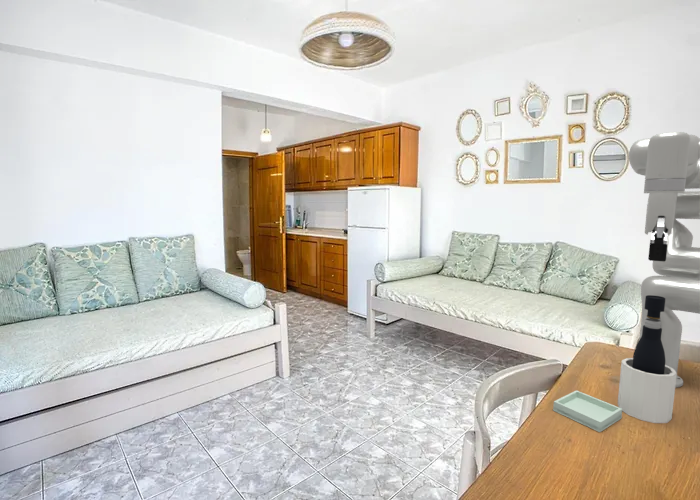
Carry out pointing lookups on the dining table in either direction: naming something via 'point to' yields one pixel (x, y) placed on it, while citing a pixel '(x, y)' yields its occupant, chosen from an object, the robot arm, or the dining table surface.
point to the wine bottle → (651, 339)
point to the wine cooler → (646, 393)
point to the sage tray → (588, 410)
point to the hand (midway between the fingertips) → (656, 258)
